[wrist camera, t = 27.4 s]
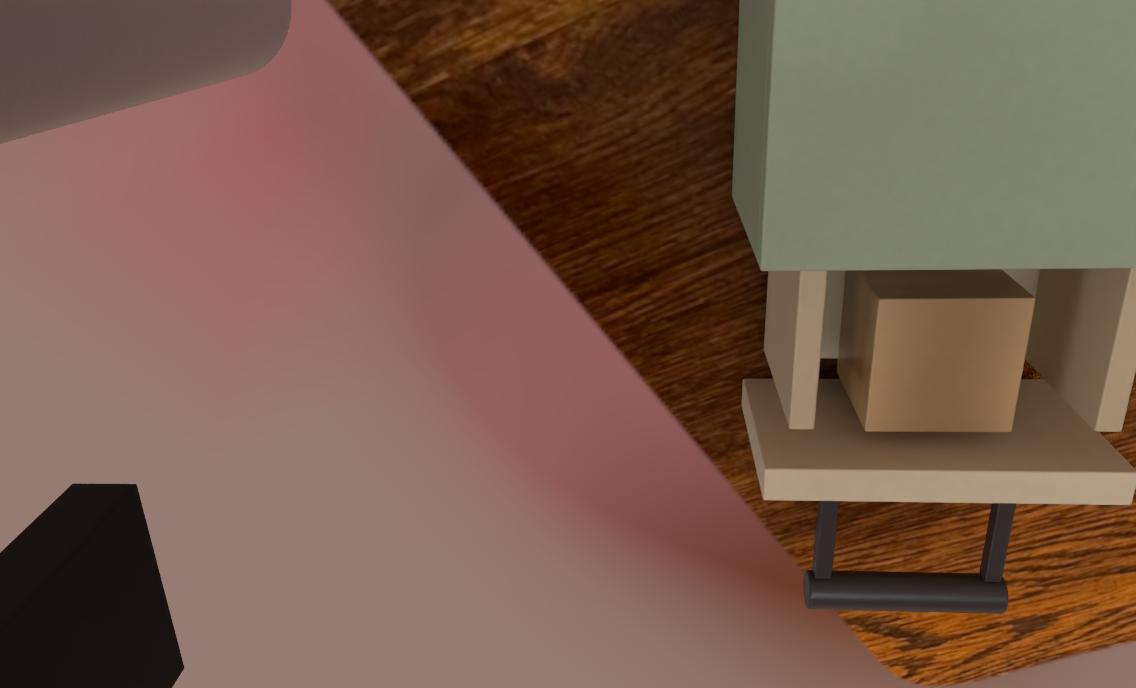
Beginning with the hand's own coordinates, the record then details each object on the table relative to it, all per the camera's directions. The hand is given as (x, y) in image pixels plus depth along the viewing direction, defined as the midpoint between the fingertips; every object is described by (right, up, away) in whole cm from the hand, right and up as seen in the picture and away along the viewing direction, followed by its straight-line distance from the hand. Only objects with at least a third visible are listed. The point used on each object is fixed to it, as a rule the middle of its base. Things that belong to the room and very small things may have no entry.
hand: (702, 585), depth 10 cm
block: (+11, +4, +22) cm, 24 cm away
